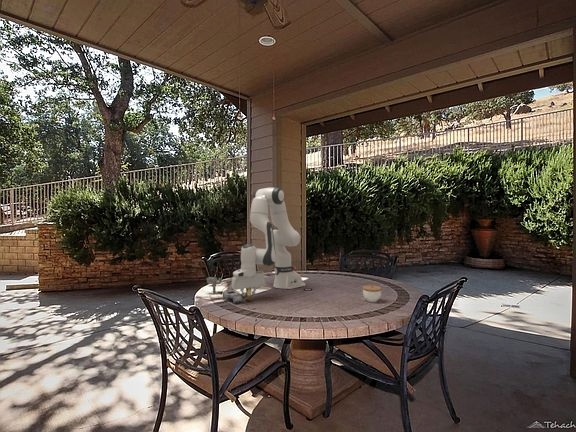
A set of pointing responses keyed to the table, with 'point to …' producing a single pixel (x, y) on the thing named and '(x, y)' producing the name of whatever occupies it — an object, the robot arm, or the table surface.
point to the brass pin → (248, 294)
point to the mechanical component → (213, 282)
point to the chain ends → (233, 296)
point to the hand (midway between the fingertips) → (248, 295)
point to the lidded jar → (372, 293)
